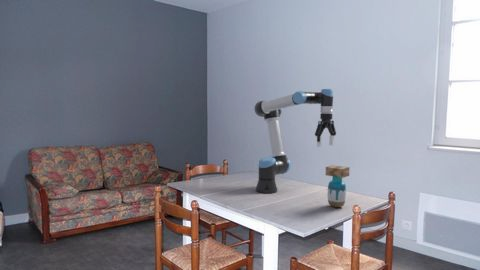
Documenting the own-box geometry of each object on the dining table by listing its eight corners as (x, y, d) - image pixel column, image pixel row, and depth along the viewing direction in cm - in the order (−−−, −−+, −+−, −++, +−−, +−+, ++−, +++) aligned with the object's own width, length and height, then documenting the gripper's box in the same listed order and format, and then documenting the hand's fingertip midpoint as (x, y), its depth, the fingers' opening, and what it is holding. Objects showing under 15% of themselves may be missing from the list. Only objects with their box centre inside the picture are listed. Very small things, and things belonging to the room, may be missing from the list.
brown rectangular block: (325, 175, 216) (325, 167, 216) (332, 173, 223) (332, 165, 223) (343, 177, 209) (343, 169, 209) (349, 175, 216) (349, 167, 216)
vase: (347, 206, 220) (348, 175, 218) (342, 210, 210) (343, 177, 209) (330, 203, 225) (331, 173, 223) (324, 207, 216) (325, 175, 214)
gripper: (319, 113, 220) (318, 147, 222) (342, 113, 237) (341, 145, 239) (309, 113, 226) (308, 146, 228) (332, 112, 243) (331, 144, 244)
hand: (325, 146), depth 233 cm, fingers open, 13 cm apart
